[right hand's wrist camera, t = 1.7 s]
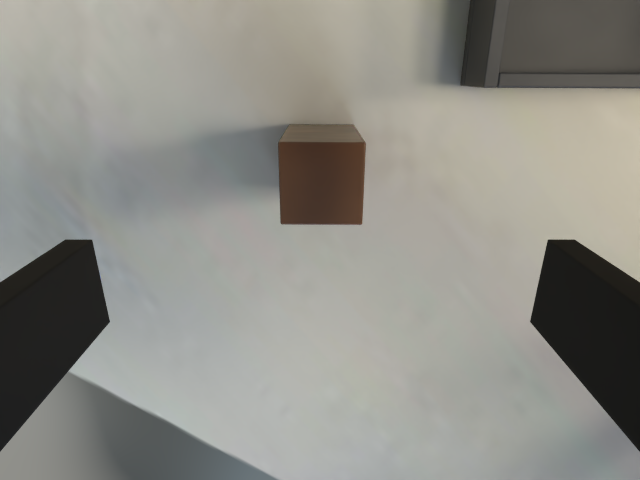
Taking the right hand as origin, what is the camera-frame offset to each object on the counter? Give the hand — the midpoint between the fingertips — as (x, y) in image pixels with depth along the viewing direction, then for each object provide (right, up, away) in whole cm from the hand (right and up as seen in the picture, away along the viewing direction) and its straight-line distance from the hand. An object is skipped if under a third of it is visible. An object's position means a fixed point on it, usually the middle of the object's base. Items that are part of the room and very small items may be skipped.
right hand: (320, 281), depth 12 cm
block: (0, +7, +17) cm, 19 cm away
